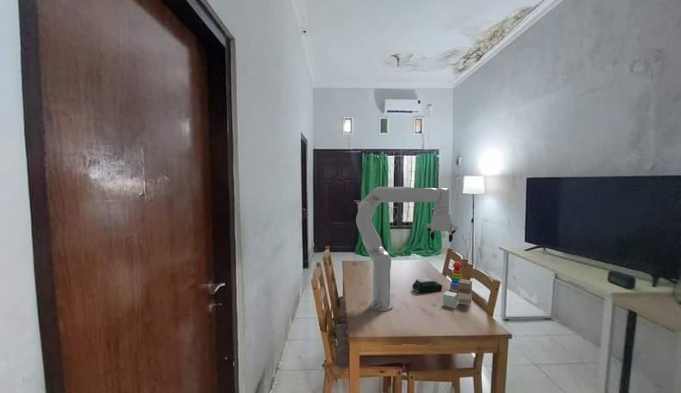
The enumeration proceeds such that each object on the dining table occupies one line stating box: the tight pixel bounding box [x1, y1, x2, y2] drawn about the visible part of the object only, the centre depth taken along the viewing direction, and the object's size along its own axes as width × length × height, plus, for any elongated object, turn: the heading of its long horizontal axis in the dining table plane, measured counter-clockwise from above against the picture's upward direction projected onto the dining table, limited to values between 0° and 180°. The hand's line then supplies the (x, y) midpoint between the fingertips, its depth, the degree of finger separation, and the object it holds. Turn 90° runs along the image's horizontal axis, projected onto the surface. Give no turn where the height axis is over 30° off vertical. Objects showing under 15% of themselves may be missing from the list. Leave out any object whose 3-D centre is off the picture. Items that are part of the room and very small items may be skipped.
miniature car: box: [411, 277, 443, 294], centre depth 193 cm, size 9×18×8 cm, turn 105°
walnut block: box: [457, 278, 473, 294], centre depth 173 cm, size 6×6×6 cm
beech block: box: [457, 291, 473, 306], centre depth 174 cm, size 6×6×6 cm
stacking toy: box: [449, 261, 463, 293], centre depth 192 cm, size 8×8×19 cm
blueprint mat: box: [441, 300, 474, 309], centre depth 171 cm, size 20×17×1 cm
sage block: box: [442, 290, 458, 308], centre depth 171 cm, size 6×6×6 cm
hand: (441, 240), depth 171 cm, fingers open, 9 cm apart
